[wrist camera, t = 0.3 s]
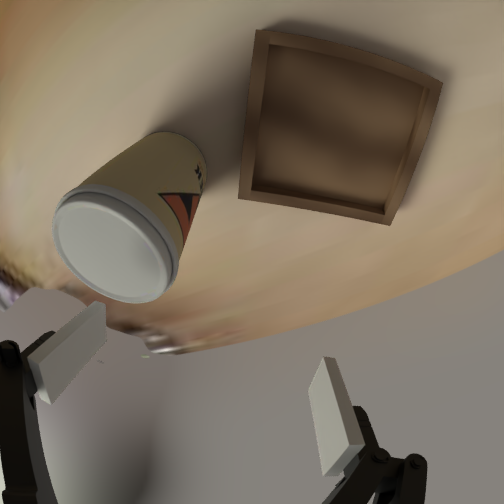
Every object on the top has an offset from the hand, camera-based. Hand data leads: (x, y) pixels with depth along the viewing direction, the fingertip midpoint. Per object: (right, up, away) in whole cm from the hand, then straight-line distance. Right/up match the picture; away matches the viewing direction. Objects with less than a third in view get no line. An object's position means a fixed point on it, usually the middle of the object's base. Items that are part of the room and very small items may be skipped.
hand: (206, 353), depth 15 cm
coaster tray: (+9, +16, +5) cm, 19 cm away
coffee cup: (-5, +14, +9) cm, 17 cm away
